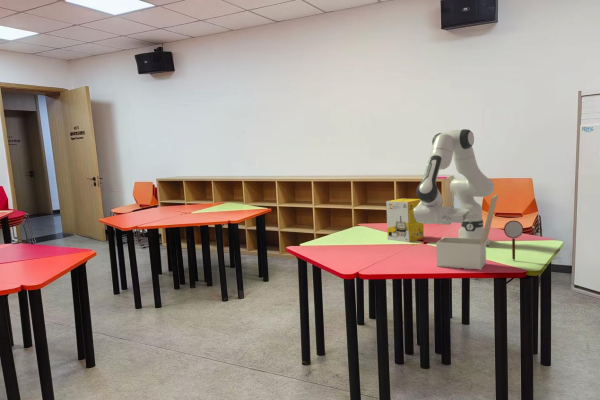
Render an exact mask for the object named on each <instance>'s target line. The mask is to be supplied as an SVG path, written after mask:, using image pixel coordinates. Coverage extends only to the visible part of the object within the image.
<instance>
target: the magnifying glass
mask: <svg viewBox="0 0 600 400" xmlns="http://www.w3.org/2000/svg"><path fill="white" fill-rule="evenodd" d="M522 224H523V223H521V222H519V221H517V220H510V221H507V222H506V223H505V224H504V227H503V232H504V234H505V235H506V237H508V238H511V245H512V246H511V247H512V248H511V250H512V251H511V253H512V254H511V256H512V257H511V258H512V261H513V262H515V260H516V238H519V237H521V235H522V234H523V232H524V226H523V225H522Z"/></svg>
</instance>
